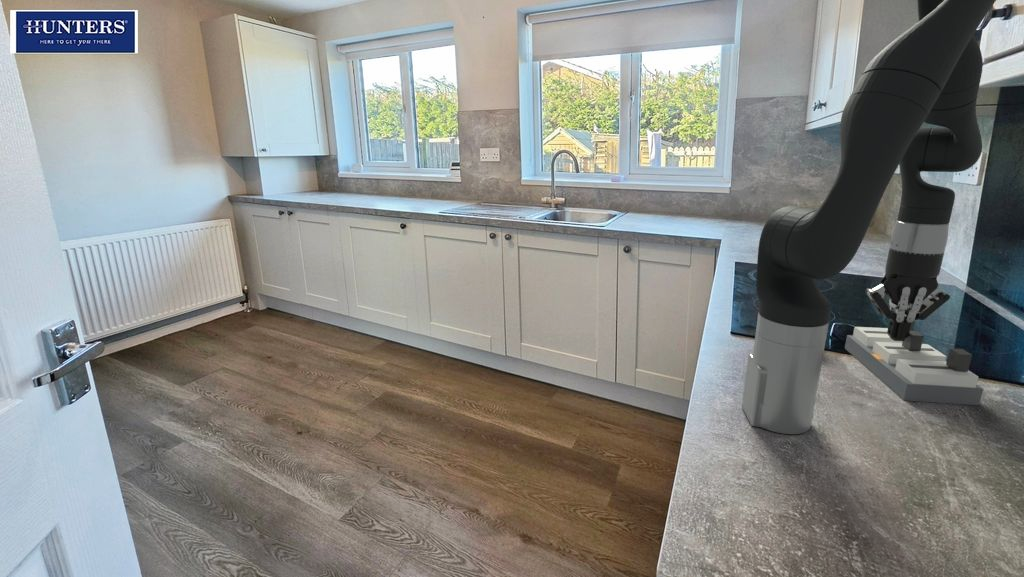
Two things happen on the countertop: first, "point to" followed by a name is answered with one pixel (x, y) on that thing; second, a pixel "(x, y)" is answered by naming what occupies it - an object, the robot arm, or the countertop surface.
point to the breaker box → (912, 369)
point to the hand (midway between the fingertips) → (896, 339)
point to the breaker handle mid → (913, 341)
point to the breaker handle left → (912, 326)
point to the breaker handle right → (959, 360)
